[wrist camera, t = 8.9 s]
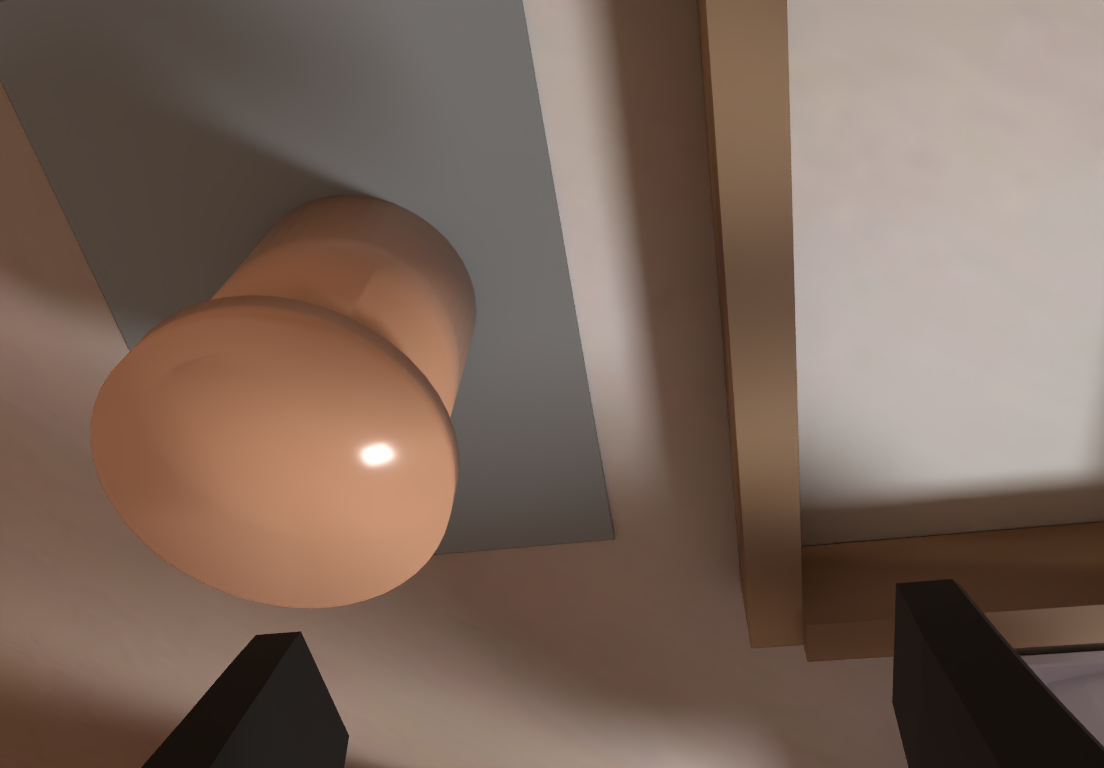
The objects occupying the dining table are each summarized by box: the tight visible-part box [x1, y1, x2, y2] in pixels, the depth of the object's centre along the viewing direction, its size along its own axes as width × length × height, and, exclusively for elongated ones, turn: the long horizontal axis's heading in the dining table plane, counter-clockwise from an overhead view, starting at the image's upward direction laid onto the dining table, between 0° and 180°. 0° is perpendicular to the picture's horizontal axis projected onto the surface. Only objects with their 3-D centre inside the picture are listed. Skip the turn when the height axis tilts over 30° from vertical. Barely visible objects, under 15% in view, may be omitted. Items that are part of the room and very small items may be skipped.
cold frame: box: [697, 0, 1104, 662], centre depth 16 cm, size 18×12×3 cm, turn 10°
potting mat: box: [0, 0, 614, 555], centre depth 19 cm, size 14×10×1 cm
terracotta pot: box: [91, 195, 476, 608], centre depth 16 cm, size 6×6×6 cm
